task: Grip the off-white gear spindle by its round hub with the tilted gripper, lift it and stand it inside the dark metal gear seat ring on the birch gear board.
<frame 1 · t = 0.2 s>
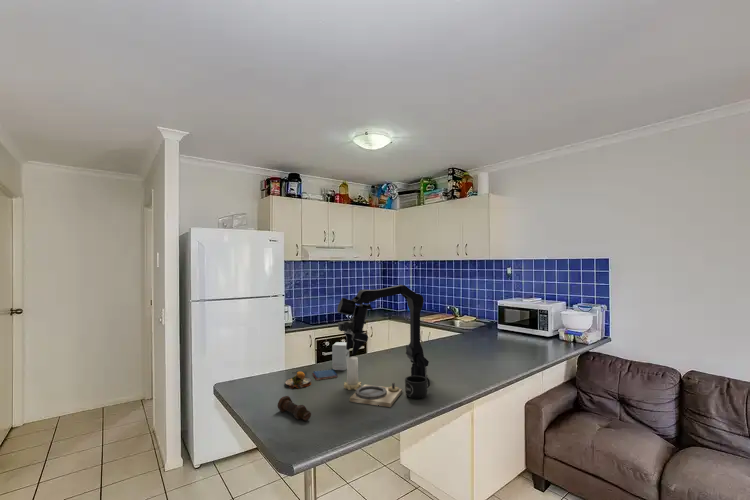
hand: (350, 352, 160), 15 cm above the countertop, tool tilted 15°, fingers open, 9 cm apart
supplement box: (341, 368, 187), on the countertop
mug: (419, 396, 148), on the countertop
gear board: (376, 396, 147), on the countertop
burger: (298, 385, 164), on the countertop
gear spindle: (352, 386, 159), on the countertop
bolt: (294, 416, 131), on the countertop
woven mat: (324, 377, 175), on the countertop
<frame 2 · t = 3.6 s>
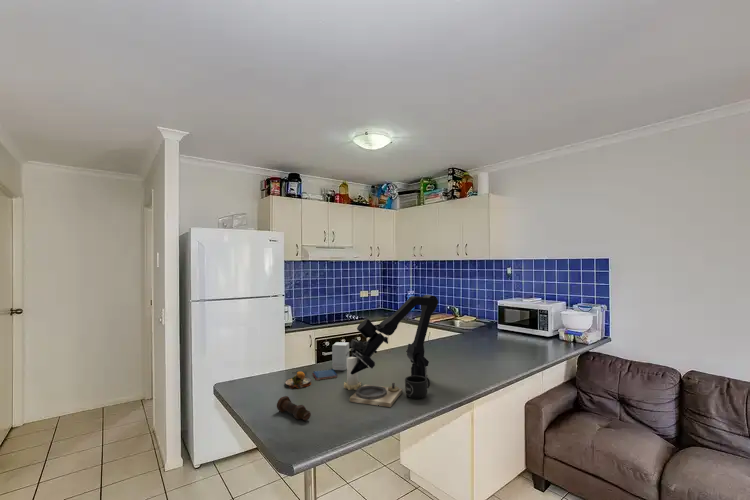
hand: (349, 372, 159), 7 cm above the countertop, tool tilted 45°, fingers closed on gear spindle, 5 cm apart
gear spindle: (352, 386, 159), on the countertop, touching gripper
everything else where it was.
when the fingers open (10 cm above the countertop, at t = 7.1 s): gear spindle drops 1 cm, resting on gear board.
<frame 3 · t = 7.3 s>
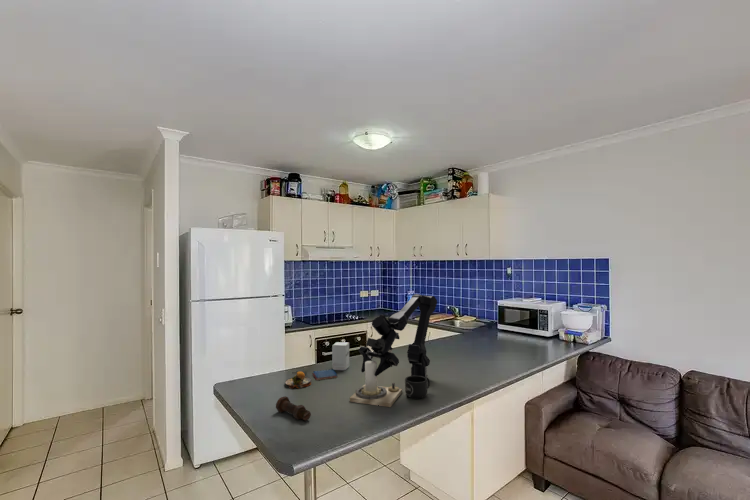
hand: (368, 373, 146), 10 cm above the countertop, tool tilted 45°, fingers open, 7 cm apart
gear spindle: (371, 393, 147), point 2 cm above the countertop, touching gear board
everything else where it was.
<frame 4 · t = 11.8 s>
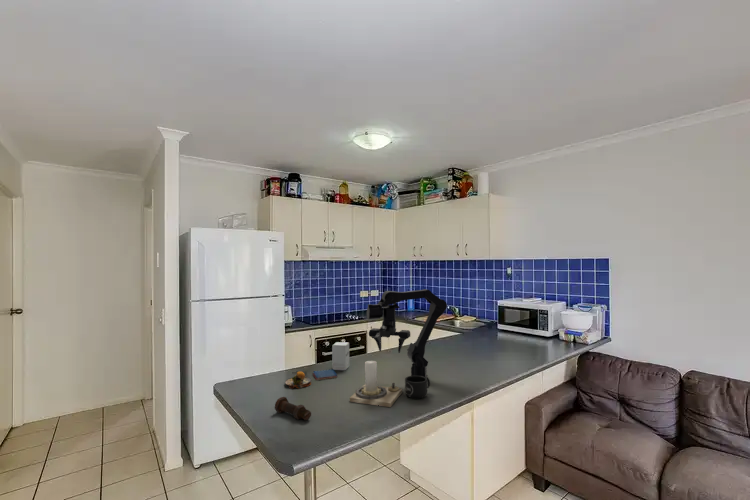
hand: (389, 352, 168), 13 cm above the countertop, tool pointing down, fingers open, 9 cm apart
nothing on the countertop moved.
at the end: gear spindle 0.0 cm from the target spot on the gear board, point 1.6 cm above the gear board's base; gear spindle tilted 0°; the gripper is holding nothing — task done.
